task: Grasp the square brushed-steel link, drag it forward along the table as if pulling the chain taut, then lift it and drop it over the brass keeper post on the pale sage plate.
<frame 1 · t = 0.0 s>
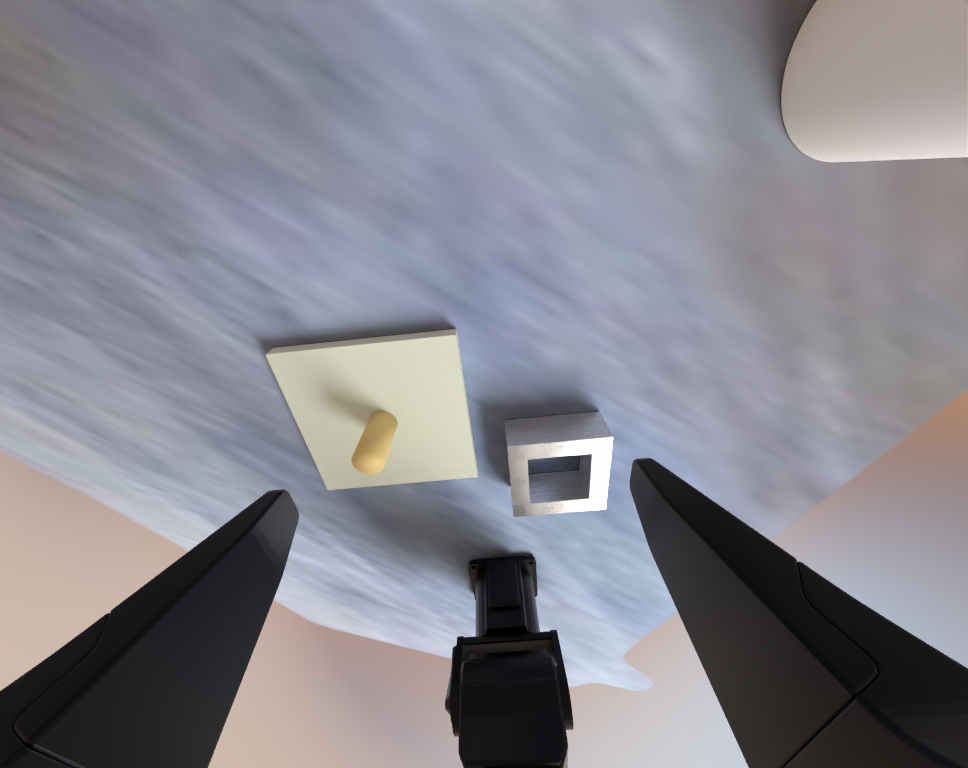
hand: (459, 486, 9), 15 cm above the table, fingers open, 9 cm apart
link: (552, 451, 28), on the table
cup: (872, 57, 16), on the table
keeper: (386, 414, 26), on the table
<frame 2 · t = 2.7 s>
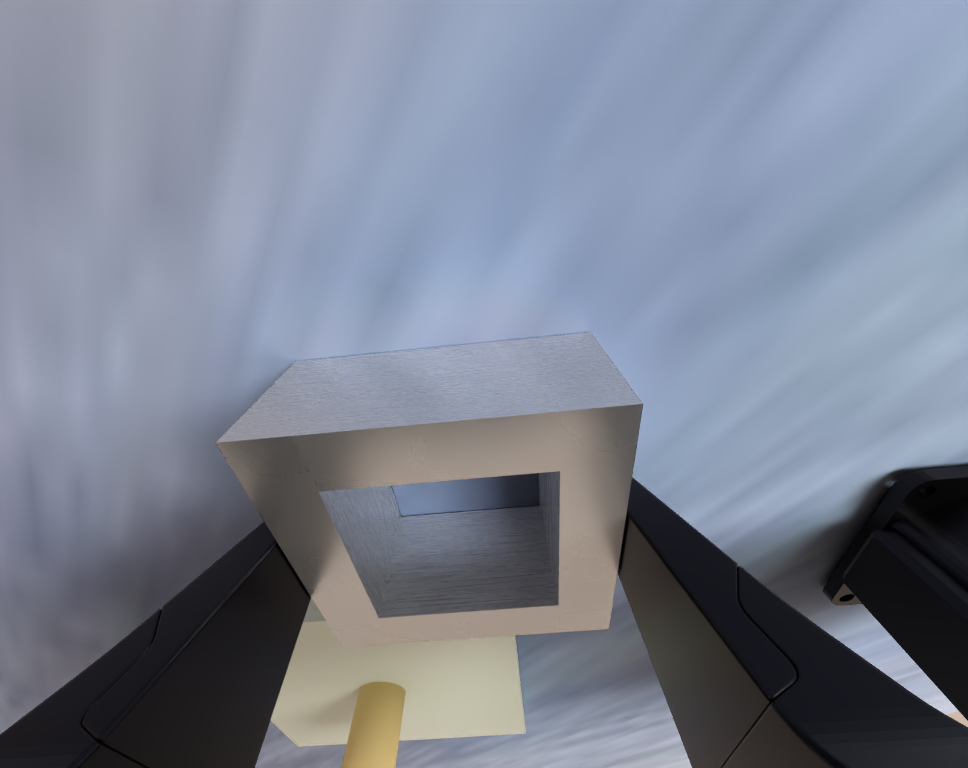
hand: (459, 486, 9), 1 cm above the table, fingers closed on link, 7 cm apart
link: (460, 458, 10), on the table, touching gripper
keeper: (387, 664, 16), on the table
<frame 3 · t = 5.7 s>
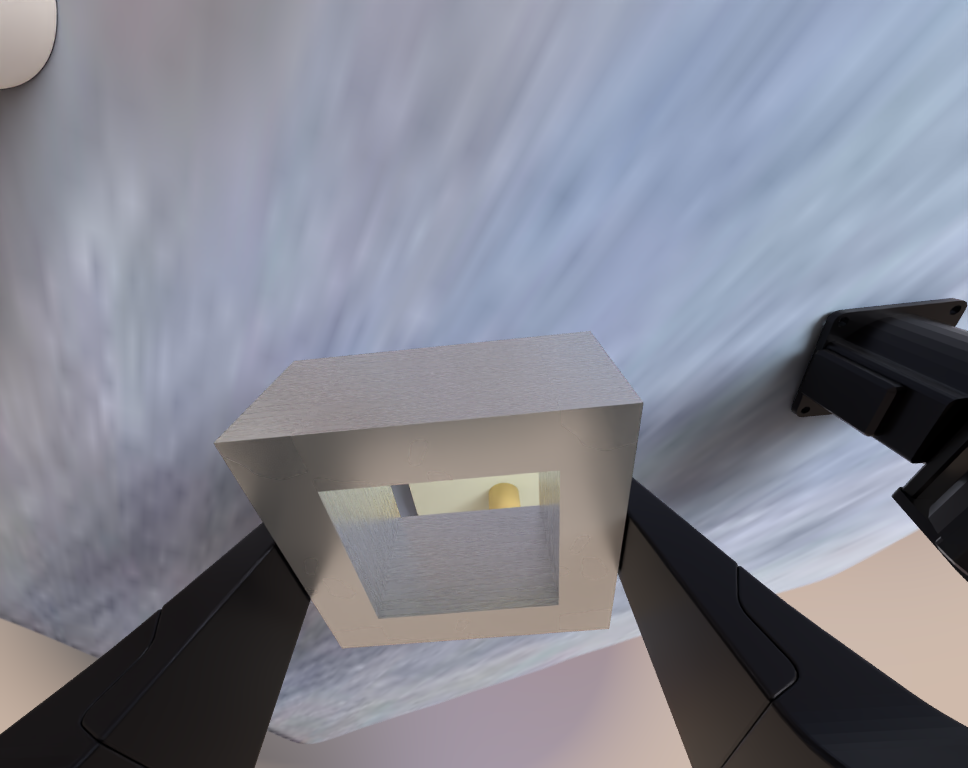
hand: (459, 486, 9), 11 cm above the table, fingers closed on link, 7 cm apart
link: (460, 458, 10), point 10 cm above the table, touching gripper
keeper: (502, 482, 24), on the table
when the fingers open (4 cm above the table, at t = 8.6 s): link drops 2 cm, resting on keeper.
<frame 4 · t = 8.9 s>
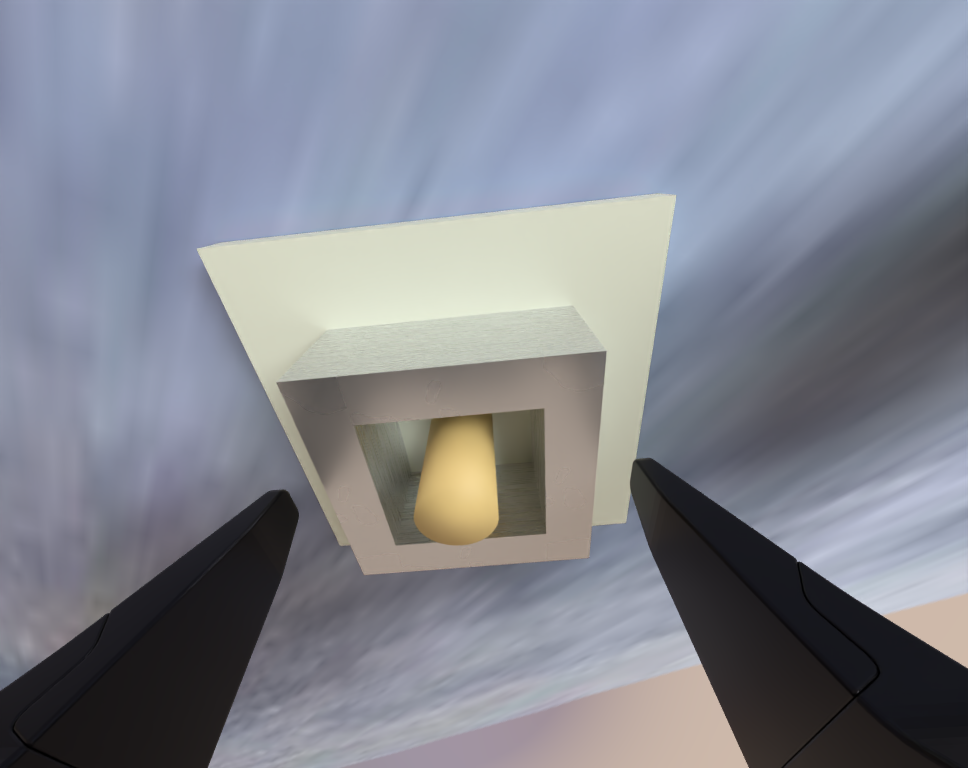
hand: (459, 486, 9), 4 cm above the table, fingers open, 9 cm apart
link: (464, 417, 12), point 1 cm above the table, touching keeper
keeper: (463, 402, 13), on the table
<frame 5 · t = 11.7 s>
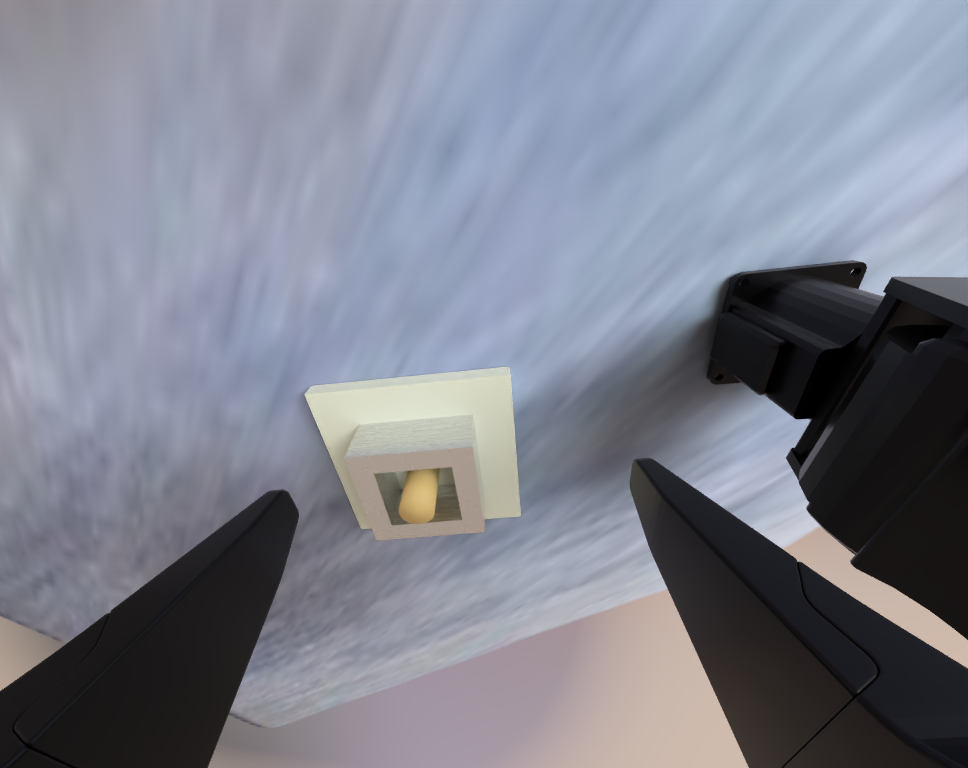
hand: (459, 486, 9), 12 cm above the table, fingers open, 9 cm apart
link: (426, 462, 23), point 1 cm above the table, touching keeper
keeper: (427, 452, 24), on the table
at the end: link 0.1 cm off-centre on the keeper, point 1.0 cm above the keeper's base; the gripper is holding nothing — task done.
